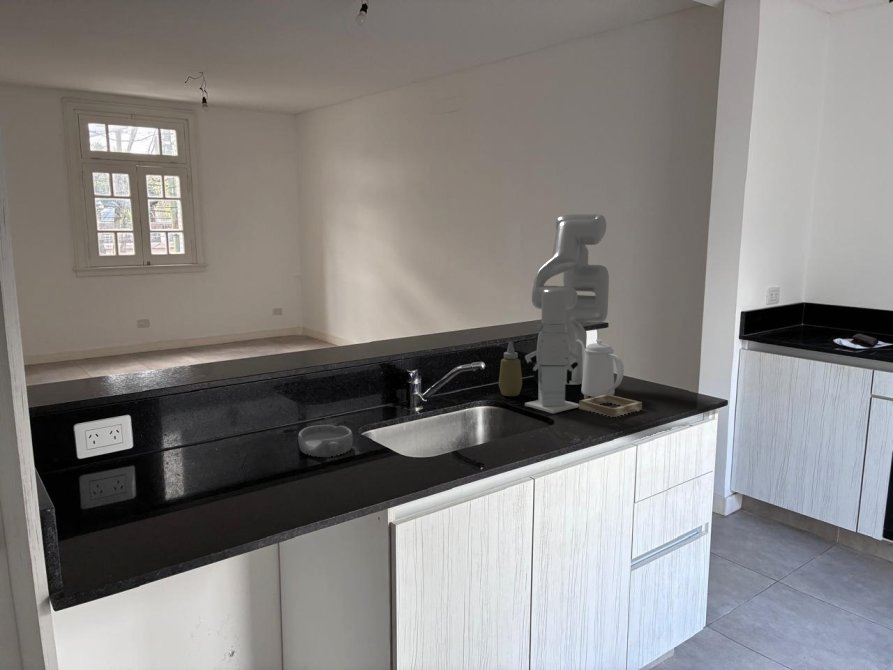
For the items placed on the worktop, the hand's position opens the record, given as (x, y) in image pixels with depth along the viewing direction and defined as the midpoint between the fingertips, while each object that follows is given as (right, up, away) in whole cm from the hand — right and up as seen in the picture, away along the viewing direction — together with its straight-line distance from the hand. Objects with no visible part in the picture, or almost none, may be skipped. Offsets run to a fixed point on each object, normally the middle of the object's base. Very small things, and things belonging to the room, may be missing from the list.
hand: (552, 382), depth 209 cm
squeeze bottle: (-12, -5, +16) cm, 20 cm away
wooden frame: (+17, -8, -3) cm, 19 cm away
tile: (0, -8, +1) cm, 8 cm away
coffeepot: (+17, -5, +16) cm, 24 cm away
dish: (-64, -15, -38) cm, 76 cm away
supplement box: (0, -7, +1) cm, 7 cm away
